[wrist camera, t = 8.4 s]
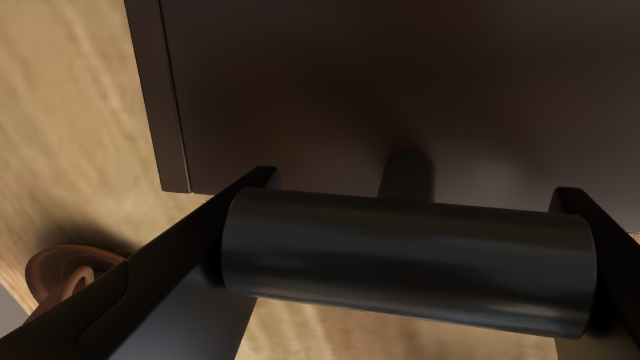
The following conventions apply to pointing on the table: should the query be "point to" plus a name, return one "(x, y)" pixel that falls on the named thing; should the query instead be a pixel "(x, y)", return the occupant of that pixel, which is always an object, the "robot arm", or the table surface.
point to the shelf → (402, 147)
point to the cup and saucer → (65, 272)
